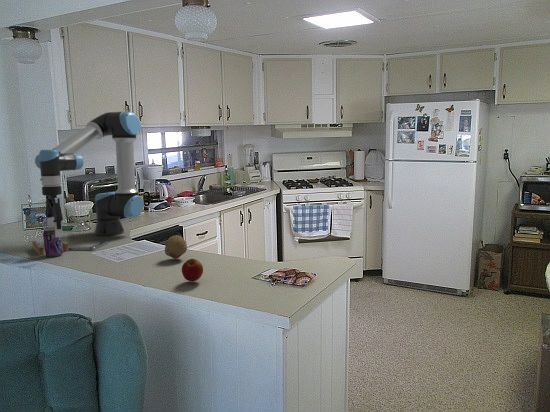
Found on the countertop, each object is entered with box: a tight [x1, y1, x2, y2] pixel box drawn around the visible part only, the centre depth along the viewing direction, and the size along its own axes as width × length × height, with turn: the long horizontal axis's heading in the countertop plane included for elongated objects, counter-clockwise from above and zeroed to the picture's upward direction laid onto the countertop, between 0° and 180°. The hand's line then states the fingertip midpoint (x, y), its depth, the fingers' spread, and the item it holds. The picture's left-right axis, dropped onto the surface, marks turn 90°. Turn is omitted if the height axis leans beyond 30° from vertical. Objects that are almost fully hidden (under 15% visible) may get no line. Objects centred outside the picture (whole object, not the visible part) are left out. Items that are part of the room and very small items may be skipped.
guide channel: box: [31, 239, 70, 257], centre depth 211 cm, size 12×16×4 cm
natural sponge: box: [164, 235, 188, 259], centre depth 192 cm, size 9×9×10 cm
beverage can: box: [42, 227, 64, 258], centre depth 200 cm, size 7×7×12 cm
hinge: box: [68, 240, 108, 252], centre depth 213 cm, size 11×19×1 cm, turn 128°
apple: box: [181, 258, 204, 282], centre depth 163 cm, size 8×8×8 cm
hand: (55, 234), depth 199 cm, fingers open, 13 cm apart
